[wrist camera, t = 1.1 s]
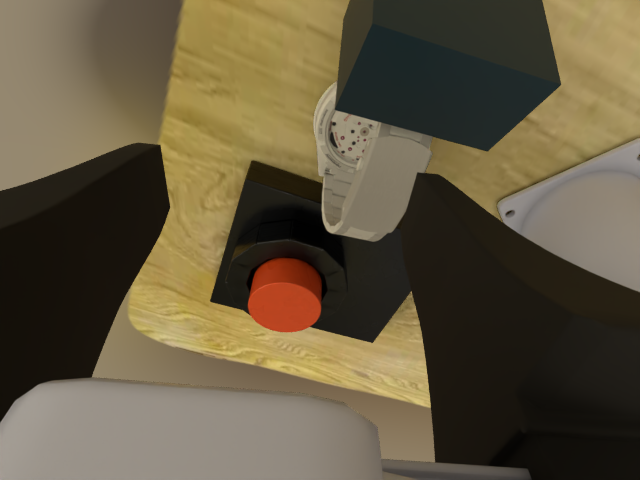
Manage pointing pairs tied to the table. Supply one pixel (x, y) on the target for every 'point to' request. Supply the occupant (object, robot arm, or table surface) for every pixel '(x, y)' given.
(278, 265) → the button
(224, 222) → the table surface
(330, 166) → the watch
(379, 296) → the box
